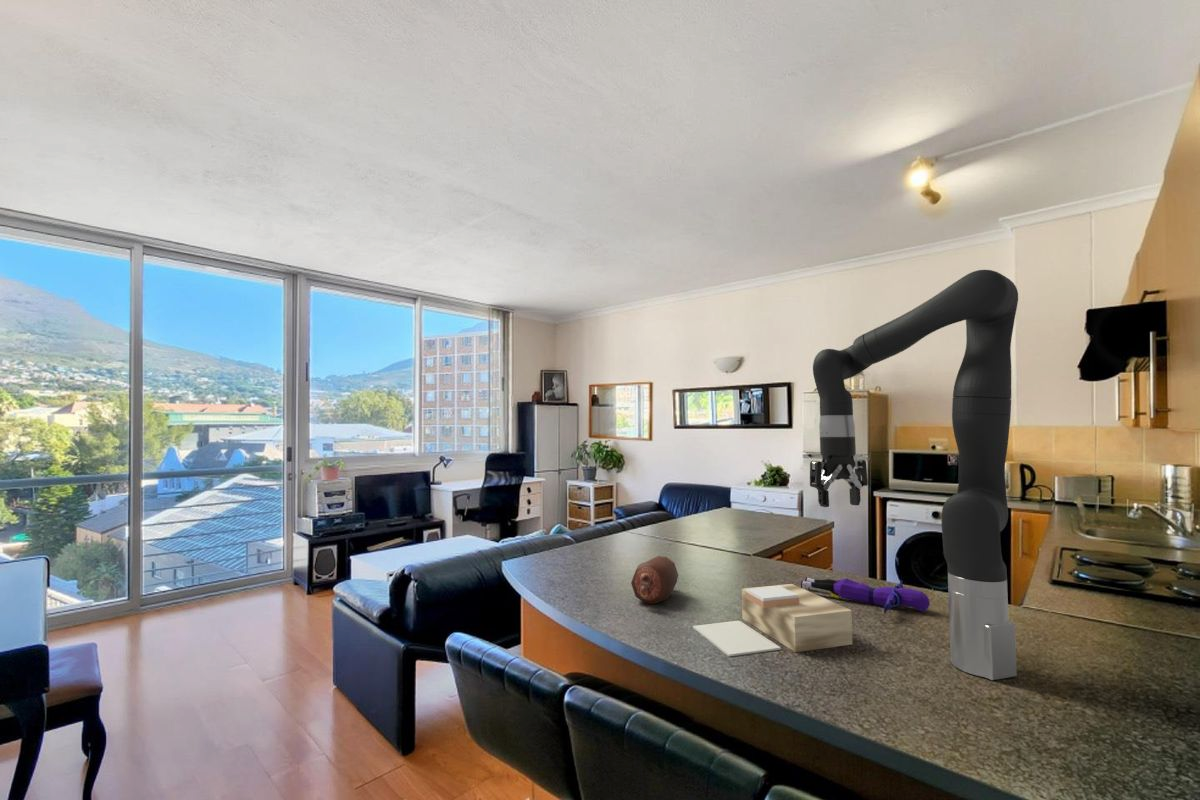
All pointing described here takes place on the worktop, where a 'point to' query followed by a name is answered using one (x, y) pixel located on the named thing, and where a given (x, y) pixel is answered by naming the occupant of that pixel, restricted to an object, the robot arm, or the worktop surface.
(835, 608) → the block
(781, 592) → the tile
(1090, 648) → the worktop surface
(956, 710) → the worktop surface
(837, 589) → the toy
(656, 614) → the worktop surface
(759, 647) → the mat
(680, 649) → the worktop surface
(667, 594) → the meat
